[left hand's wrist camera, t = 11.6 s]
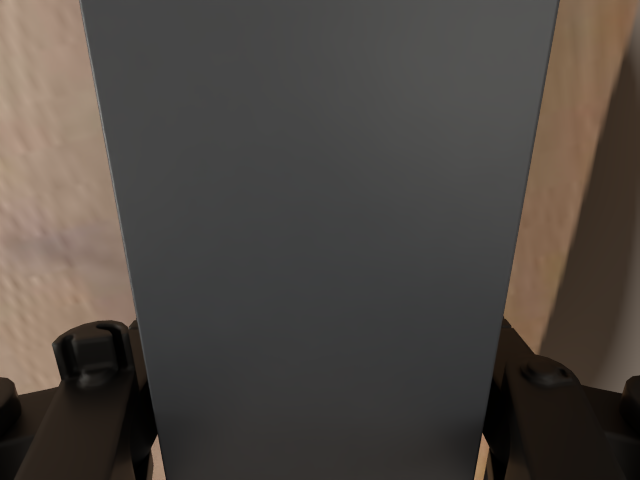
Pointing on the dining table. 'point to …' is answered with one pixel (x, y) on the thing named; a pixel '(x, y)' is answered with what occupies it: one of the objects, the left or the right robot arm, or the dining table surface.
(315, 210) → the plank
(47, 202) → the dining table surface
